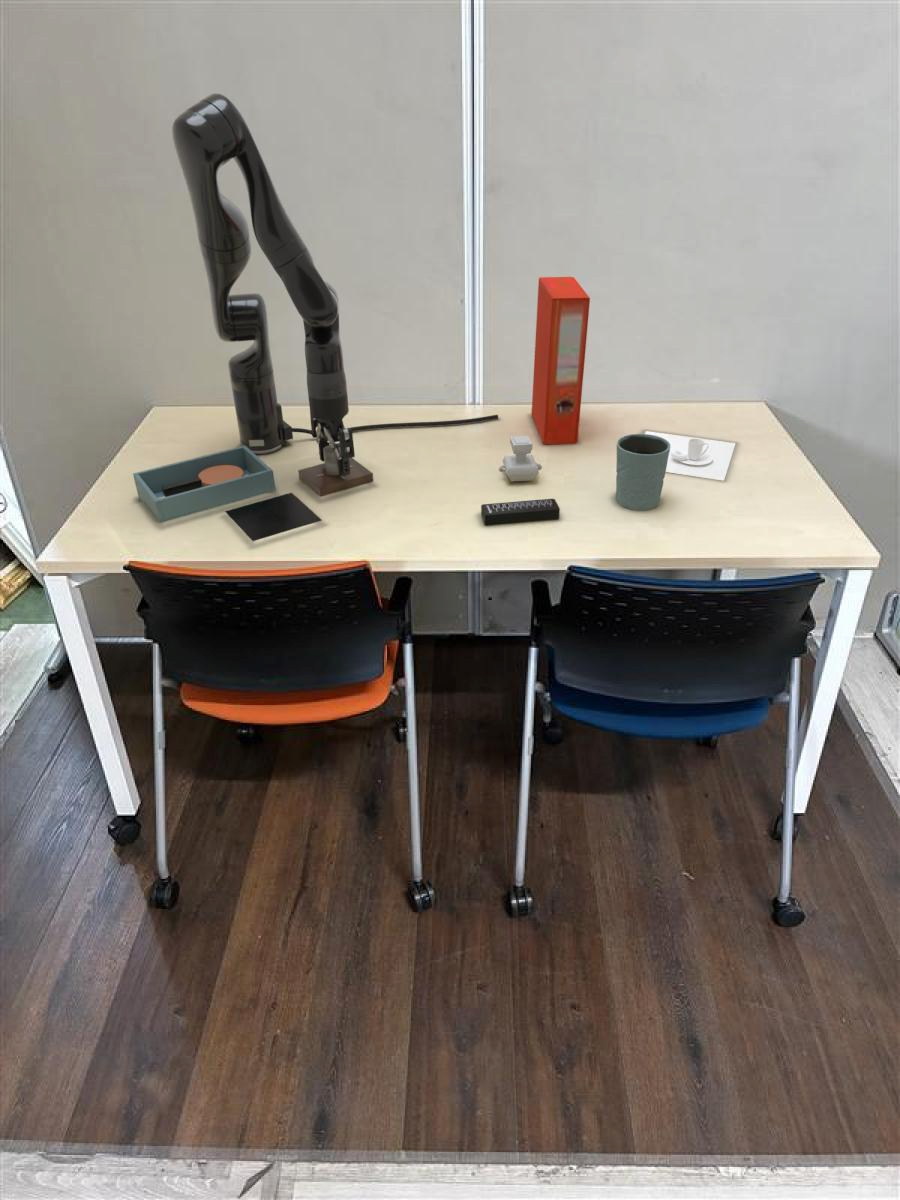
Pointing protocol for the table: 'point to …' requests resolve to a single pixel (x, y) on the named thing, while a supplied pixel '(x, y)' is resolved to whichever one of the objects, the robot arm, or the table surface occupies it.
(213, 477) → the pan
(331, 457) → the tap dial
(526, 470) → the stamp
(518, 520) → the multiport hub
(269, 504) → the plate
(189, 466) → the basin
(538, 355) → the file binder
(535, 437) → the table surface
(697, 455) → the teacup and saucer
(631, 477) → the green cup
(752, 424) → the table surface
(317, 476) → the rotary knob panel
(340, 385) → the robot arm
